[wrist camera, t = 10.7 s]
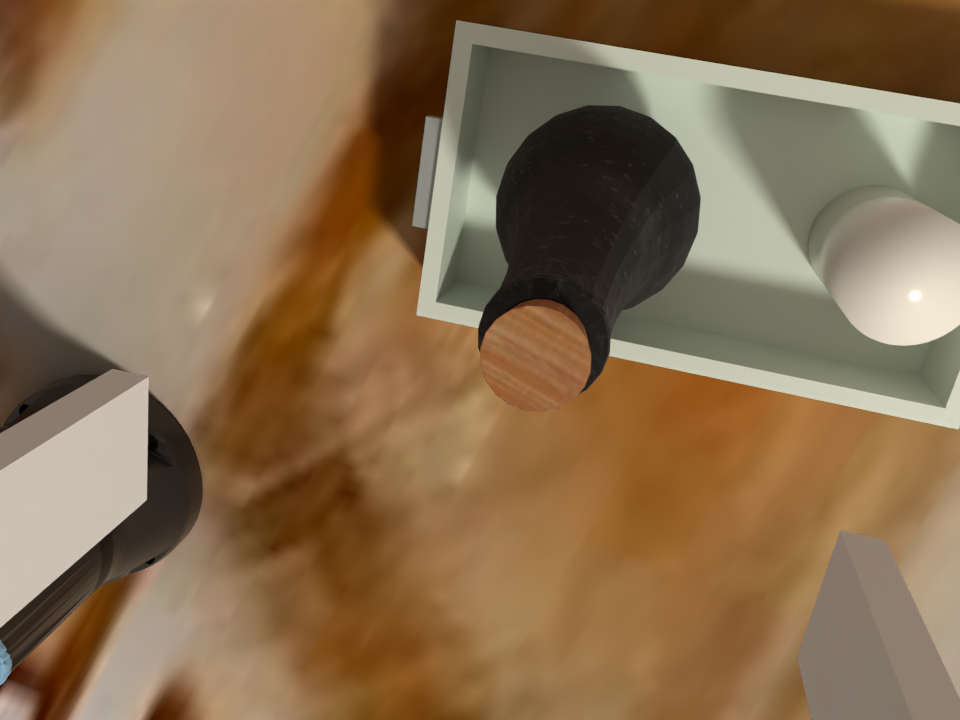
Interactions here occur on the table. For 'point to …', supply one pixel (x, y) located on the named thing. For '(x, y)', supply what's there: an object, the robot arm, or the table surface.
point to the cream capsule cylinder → (889, 264)
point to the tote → (703, 209)
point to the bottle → (582, 247)
